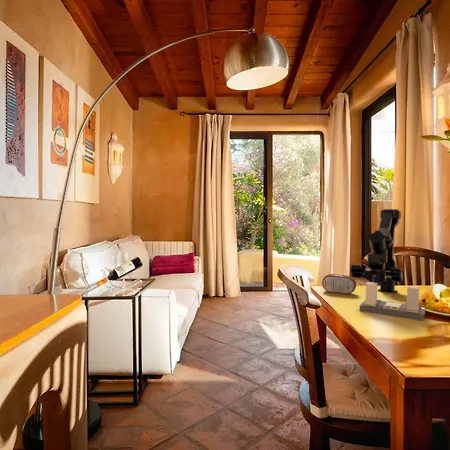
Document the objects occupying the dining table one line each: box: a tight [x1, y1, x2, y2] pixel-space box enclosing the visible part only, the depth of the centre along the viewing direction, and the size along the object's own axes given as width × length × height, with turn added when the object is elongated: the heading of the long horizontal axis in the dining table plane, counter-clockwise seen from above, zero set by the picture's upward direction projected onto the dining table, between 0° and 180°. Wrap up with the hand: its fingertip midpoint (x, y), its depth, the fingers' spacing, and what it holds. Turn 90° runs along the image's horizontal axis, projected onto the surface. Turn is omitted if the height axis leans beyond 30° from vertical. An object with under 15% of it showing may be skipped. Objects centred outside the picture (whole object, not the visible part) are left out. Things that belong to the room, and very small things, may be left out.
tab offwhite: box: [365, 281, 378, 305], centre depth 132 cm, size 3×4×8 cm
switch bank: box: [359, 299, 426, 322], centre depth 131 cm, size 12×21×2 cm, turn 56°
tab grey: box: [406, 285, 420, 311], centre depth 125 cm, size 3×4×8 cm
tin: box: [321, 273, 357, 295], centre depth 161 cm, size 15×3×8 cm, turn 65°
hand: (372, 290), depth 134 cm, fingers closed, pressing on tab offwhite
